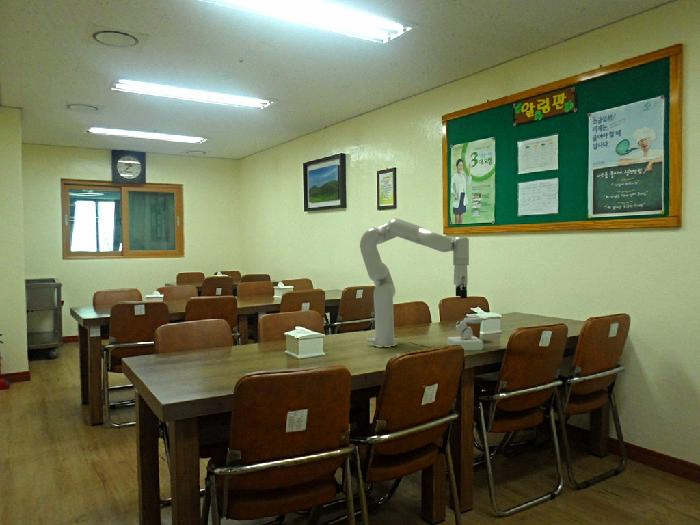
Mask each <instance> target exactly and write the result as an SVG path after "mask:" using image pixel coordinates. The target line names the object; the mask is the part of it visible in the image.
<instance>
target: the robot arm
mask: <svg viewBox="0 0 700 525" xmlns="http://www.w3.org/2000/svg"><path fill="white" fill-rule="evenodd" d="M397 237H398V238H401V239H403V240H406V241H409V242H412V243H415V244H417V245H420V246H425V247H427V248H430V249H433V250H435V251H438V252H441V253H448V252H452V260H453V262H452V264H453V266H454V267H453V268H454V269H453V285H454V286H455V297H460V299H467V298H468V275H469V274H468V266H470V242H469V241H470V240H469V238H468V237H467V236H455V237H450V236H444V235H441V234H439V233H436V232H433V231H431V230H428V229H426V228H425V227H423V226H421V225H417V224H415V223H411V222H409V221H405V220H403V219H399V218H391V219H390V220H389V221H388V222H387V223H385V224H383V225H381V226H377V227H370V228H368V229H367V230H366V231H365V232H364V233H363V234H362V236H361V239H360V242H359V248H360V253H361V257H362V259H363V263H364V266H365V268H366V272H367V276H368V277H369V279H370V280H371V281H373V283H374V286H375V288H374V289H373V303H374V304H373V306H374V328H375V329H374V336H372V337H366V339H365V341H366V342H367V343H372V344H374V345H378V346H393V345H397V346H398V342H397V341H395V320H394V316H395V315H394V313H395V312H394V296H395V294H396V287H395V284H394V281H393V279H392V275H391V273H390V272H391V271H390V270H389V268H388V266H387V265H386V264H385V263H383V261H382V259H381V254H380V253H379V251H378V246H377V245H380V244H384V243H386V242H388V241H390V240H392V239H395V238H397Z"/></svg>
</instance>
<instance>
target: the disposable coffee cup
mask: <svg viewBox="0 0 700 525" xmlns="http://www.w3.org/2000/svg"><path fill="white" fill-rule="evenodd" d="M462 321H463V322H465V323H466V324H467V328H468V327H471V329H472V331H473V332H472V334H473V336H475V337H477V338H478V339H480V336H481V326H482V321H483V320H482V318H481V317H476V316H468V317H464V318H463V320H462Z"/></svg>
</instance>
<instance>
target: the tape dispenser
mask: <svg viewBox="0 0 700 525" xmlns="http://www.w3.org/2000/svg"><path fill="white" fill-rule="evenodd" d="M455 328H456V332H457V333H458V335H459V337H462V339H463V340H465V339H470V338H472V336H473V334H472V332H473V331H472V329H471V327H468V328H467V324H466V323H465V322H464V321H463V320H461V321H459V320H458V321H457V322H456V325H455Z"/></svg>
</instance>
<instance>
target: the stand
mask: <svg viewBox="0 0 700 525" xmlns="http://www.w3.org/2000/svg"><path fill="white" fill-rule="evenodd" d="M446 338H447V339H446V342H447V343H446V344H447V346H448V345H461V346H463V347H464V348H465V350H464V351H483V350H484V341H483V340H482V339H480V338H479V339H478V338H477V337H475V336H472V338H470V339H465V340H463V339H462V337H461V336H448V337H446ZM482 349H483V350H482Z"/></svg>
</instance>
